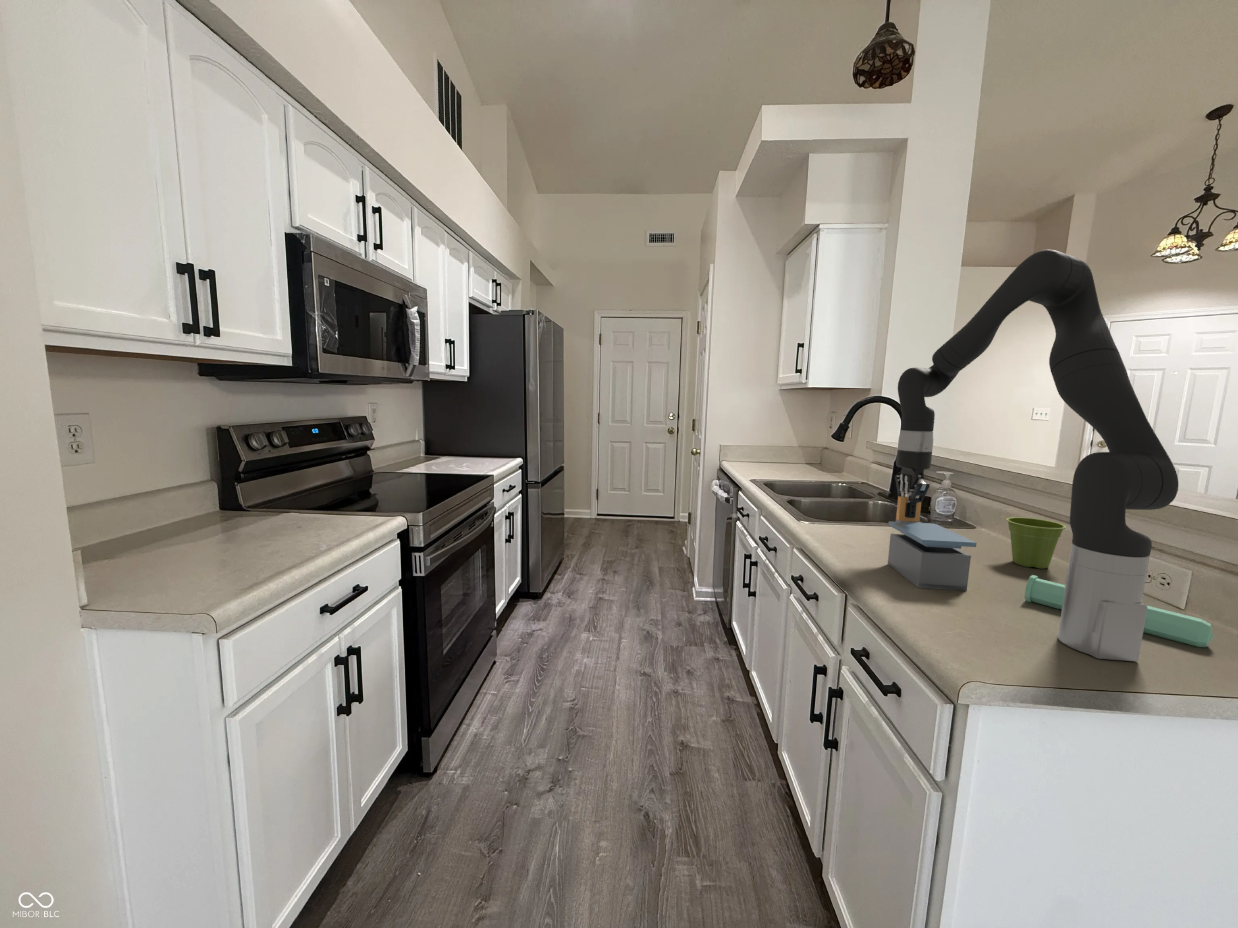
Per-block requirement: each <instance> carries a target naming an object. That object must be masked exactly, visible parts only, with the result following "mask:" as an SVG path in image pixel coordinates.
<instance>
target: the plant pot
mask: <svg viewBox="0 0 1238 928" xmlns="http://www.w3.org/2000/svg"><path fill="white" fill-rule="evenodd" d="M1005 521H1006V522H1007V523H1008V530H1009V534H1010V544H1011V547H1010V548H1011V557H1012V561H1013V562H1014V563H1015V564H1016V565H1019V566H1023V567H1026V568H1031V567H1033V568H1035V569H1039V570H1040V569H1041V570H1042V569H1047V568H1049V567H1050V565H1051V561H1052V559H1053V555H1054V553H1055V550H1056V547H1057V544H1058V541H1059V538H1060V537H1061V536H1062V533H1063V531H1064V530H1065V529H1066V528H1067V526H1066V525H1065V524H1063V523H1060V522H1057V521H1052V520H1046V519H1041V518H1033V517H1019V516H1017V517H1016V516H1013V517H1007V518H1005Z"/></svg>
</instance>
